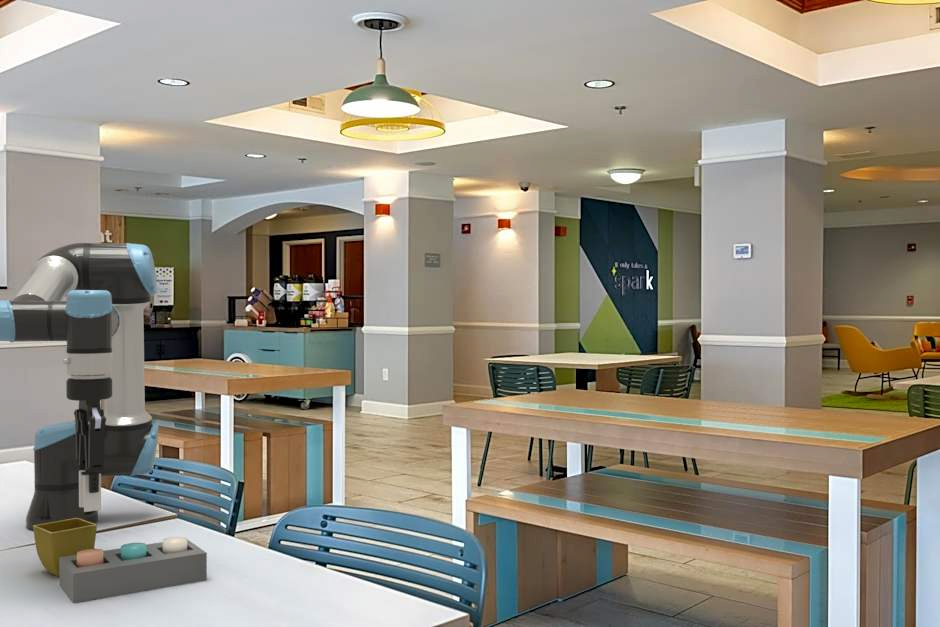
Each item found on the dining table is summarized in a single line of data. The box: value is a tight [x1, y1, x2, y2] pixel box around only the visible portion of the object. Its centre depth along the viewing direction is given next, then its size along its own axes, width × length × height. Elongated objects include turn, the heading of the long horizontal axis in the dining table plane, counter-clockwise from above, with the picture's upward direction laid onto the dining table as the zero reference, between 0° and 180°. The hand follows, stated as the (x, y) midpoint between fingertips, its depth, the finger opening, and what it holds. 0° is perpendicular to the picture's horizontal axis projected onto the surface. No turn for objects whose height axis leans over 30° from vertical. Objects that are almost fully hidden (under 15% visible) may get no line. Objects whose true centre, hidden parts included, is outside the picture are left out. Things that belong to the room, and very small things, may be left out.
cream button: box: [162, 536, 188, 554], centre depth 170 cm, size 4×4×3 cm
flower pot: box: [32, 518, 98, 577], centre depth 173 cm, size 9×9×9 cm
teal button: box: [120, 542, 147, 561], centre depth 166 cm, size 4×4×3 cm
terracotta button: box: [77, 548, 104, 568], centre depth 162 cm, size 4×4×3 cm
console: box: [58, 538, 208, 604], centre depth 166 cm, size 12×23×5 cm, turn 125°
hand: (90, 508), depth 162 cm, fingers open, 3 cm apart
